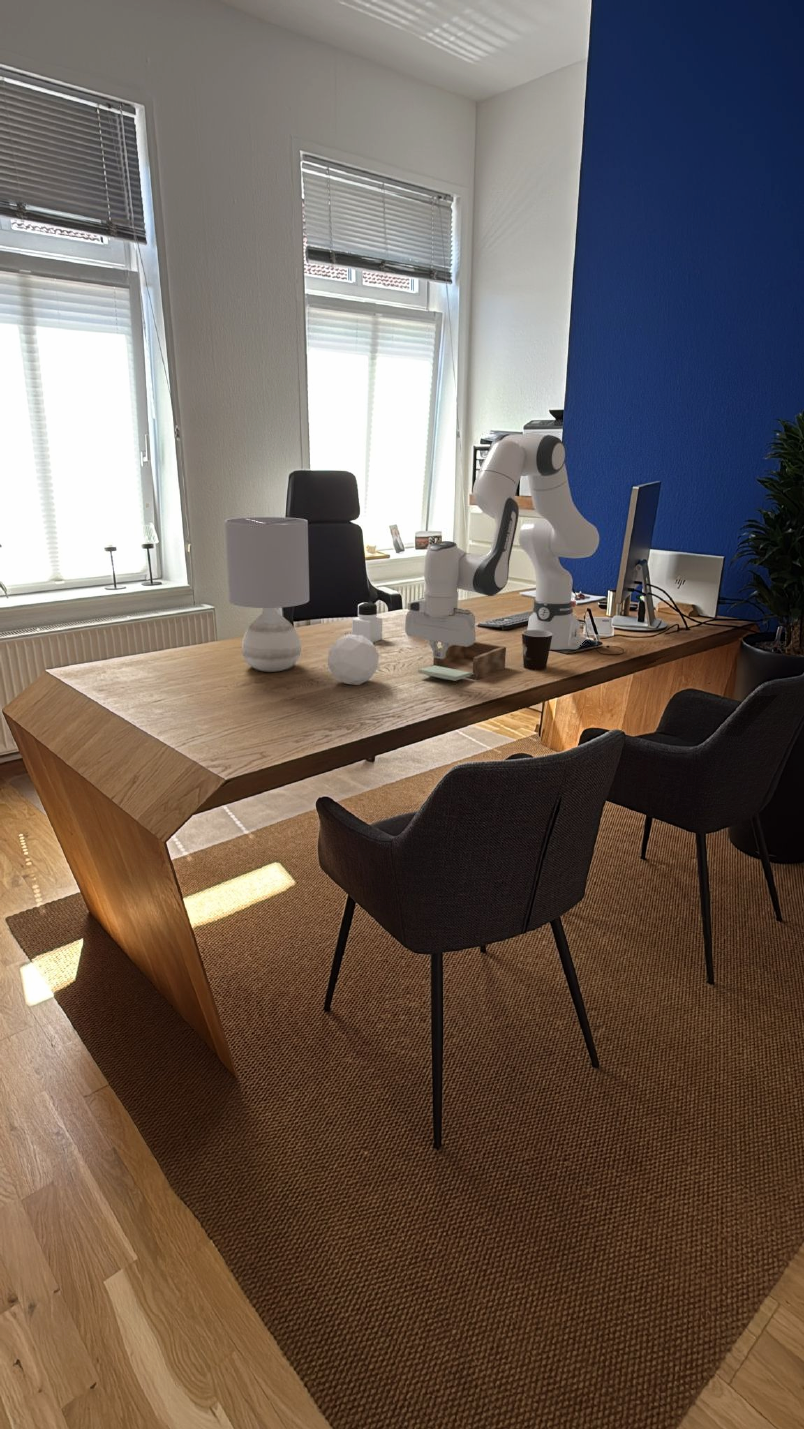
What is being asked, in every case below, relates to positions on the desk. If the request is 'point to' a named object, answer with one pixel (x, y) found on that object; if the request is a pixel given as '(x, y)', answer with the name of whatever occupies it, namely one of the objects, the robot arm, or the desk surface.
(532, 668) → the coffee mug
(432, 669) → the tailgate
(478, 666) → the crate
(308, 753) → the desk surface
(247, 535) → the lamp
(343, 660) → the geodesic sphere
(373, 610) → the medicine bottle
